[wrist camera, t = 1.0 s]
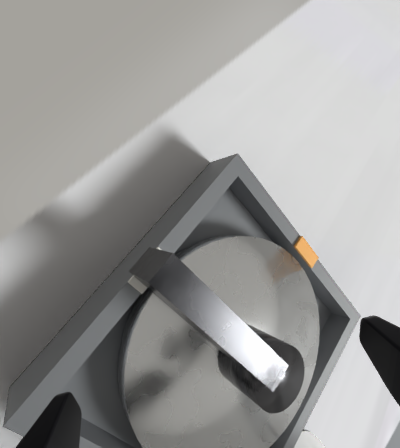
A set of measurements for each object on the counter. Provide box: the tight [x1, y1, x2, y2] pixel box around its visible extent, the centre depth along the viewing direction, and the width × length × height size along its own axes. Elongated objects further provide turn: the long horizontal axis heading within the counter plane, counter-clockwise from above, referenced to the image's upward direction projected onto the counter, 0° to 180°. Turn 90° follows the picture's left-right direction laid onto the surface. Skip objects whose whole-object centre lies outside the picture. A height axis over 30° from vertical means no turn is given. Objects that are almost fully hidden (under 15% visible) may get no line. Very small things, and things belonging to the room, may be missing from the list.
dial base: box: [3, 154, 360, 448], centre depth 20 cm, size 18×18×4 cm
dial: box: [118, 235, 320, 448], centre depth 17 cm, size 17×15×5 cm
